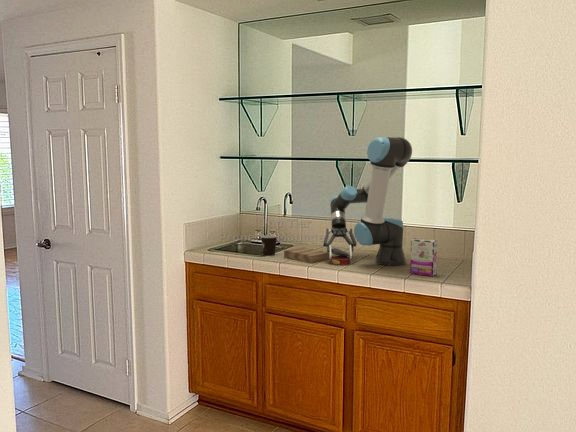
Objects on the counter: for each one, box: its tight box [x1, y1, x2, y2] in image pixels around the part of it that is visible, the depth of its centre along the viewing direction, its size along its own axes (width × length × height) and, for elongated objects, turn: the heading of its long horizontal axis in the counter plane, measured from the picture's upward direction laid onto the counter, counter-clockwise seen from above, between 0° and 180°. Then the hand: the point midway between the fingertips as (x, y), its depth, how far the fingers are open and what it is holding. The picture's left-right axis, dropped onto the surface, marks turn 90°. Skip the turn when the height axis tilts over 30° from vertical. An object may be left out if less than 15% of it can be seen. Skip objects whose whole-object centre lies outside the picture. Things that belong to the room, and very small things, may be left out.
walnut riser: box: [283, 246, 330, 264], centre depth 277 cm, size 20×14×4 cm
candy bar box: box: [409, 238, 438, 277], centre depth 242 cm, size 11×5×16 cm, turn 56°
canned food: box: [330, 247, 351, 266], centre depth 266 cm, size 11×10×10 cm
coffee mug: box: [260, 234, 278, 257], centre depth 289 cm, size 12×9×10 cm
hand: (340, 256), depth 262 cm, fingers closed on canned food, 10 cm apart
